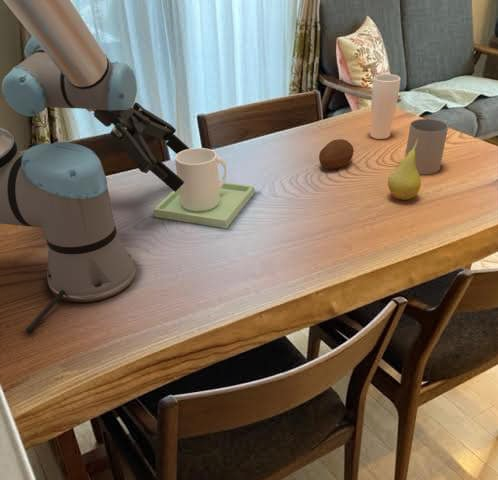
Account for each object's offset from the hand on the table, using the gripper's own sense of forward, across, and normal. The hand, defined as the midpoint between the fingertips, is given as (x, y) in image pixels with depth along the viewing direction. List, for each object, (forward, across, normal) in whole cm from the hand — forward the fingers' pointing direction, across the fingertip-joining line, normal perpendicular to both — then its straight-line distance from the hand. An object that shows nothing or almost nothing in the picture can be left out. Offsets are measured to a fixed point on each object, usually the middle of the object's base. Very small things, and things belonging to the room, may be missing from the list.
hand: (186, 173), depth 113 cm
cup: (+42, -22, +32) cm, 57 cm away
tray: (+8, 0, -3) cm, 8 cm away
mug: (+7, -1, -2) cm, 8 cm away
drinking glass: (+36, -42, +26) cm, 61 cm away
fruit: (+38, -6, +27) cm, 47 cm away
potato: (+28, -22, +17) cm, 39 cm away
